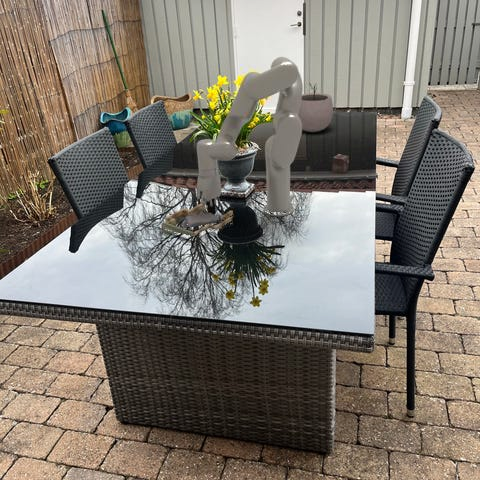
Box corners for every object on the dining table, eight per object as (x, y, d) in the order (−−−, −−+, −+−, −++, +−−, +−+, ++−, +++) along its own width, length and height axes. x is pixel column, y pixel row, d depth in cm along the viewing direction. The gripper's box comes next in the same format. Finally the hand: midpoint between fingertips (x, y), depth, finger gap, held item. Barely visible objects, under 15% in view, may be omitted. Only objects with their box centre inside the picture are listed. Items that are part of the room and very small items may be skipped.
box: (342, 173, 232) (343, 159, 228) (331, 171, 235) (332, 157, 232) (348, 170, 236) (349, 155, 233) (337, 167, 239) (338, 153, 236)
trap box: (197, 207, 206) (196, 199, 204) (240, 219, 193) (239, 211, 192) (157, 229, 189) (156, 221, 188) (200, 244, 177) (200, 235, 175)
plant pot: (338, 127, 301) (340, 78, 286) (322, 138, 283) (324, 86, 269) (303, 123, 312) (304, 76, 298) (286, 133, 295) (286, 83, 280)
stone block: (183, 226, 194) (189, 232, 185) (182, 215, 193) (188, 220, 184) (211, 222, 198) (218, 227, 189) (210, 210, 197) (217, 215, 187)
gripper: (213, 164, 195) (216, 205, 204) (188, 175, 185) (192, 218, 193) (227, 167, 191) (230, 209, 199) (202, 179, 180) (206, 222, 189)
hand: (211, 213), depth 196 cm, fingers closed
